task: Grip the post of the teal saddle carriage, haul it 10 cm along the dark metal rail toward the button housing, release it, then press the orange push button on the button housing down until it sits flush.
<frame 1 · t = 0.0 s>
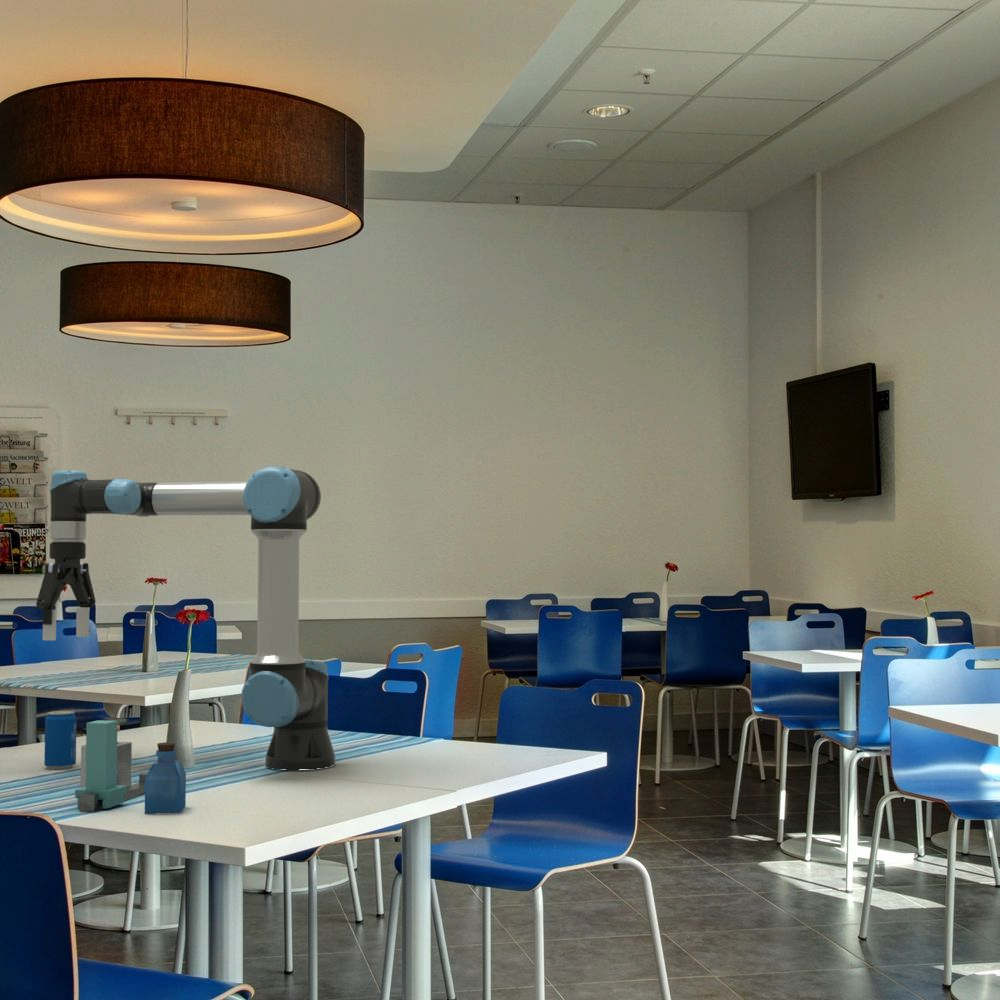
hand: (66, 638, 284), 28 cm above the table, fingers open, 13 cm apart
perfume bottle: (165, 811, 235), on the table
button housing: (106, 790, 256), on the table
carriage: (101, 763, 239), point 8 cm above the table, slide at 0.0 cm
rail: (119, 799, 246), on the table
beverage can: (60, 768, 283), on the table
orange push button: (106, 741, 256), point 10 cm above the table, slide at 0.0 cm
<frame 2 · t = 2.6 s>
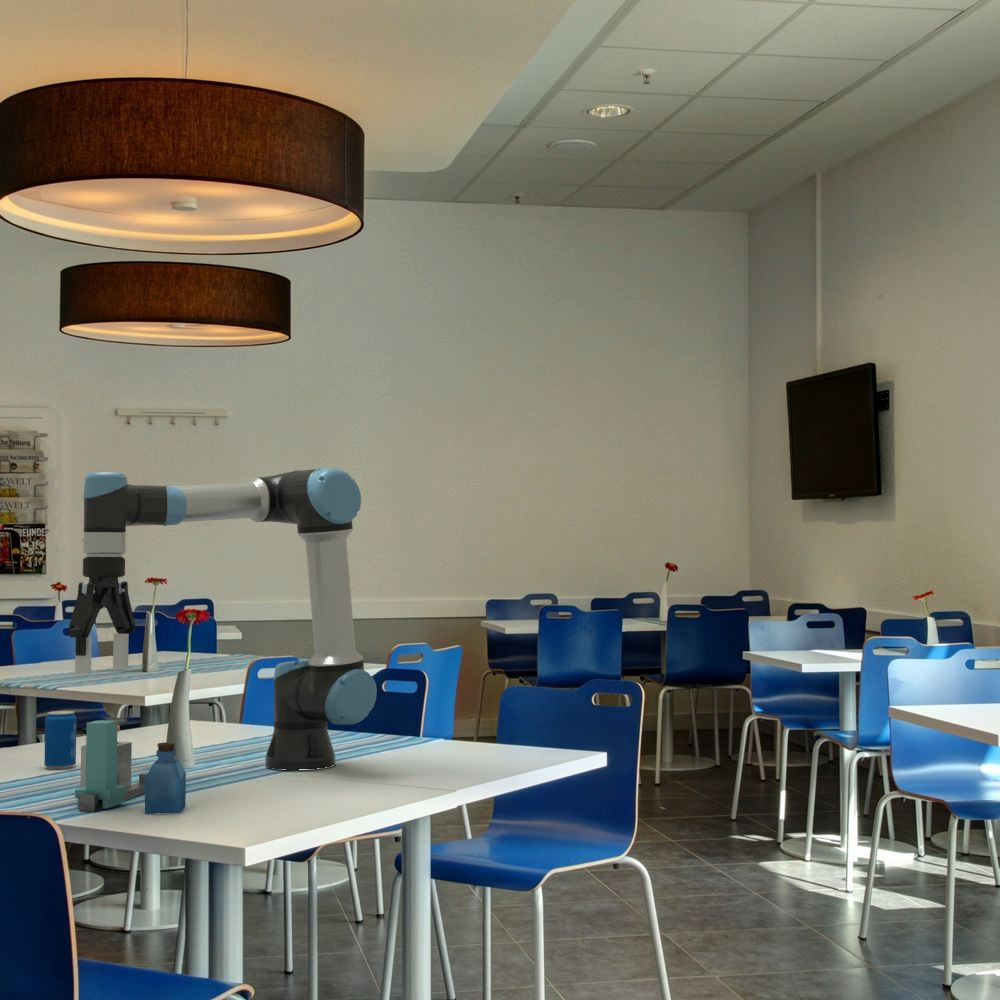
hand: (102, 671, 240), 25 cm above the table, fingers open, 13 cm apart
nothing on the table moved.
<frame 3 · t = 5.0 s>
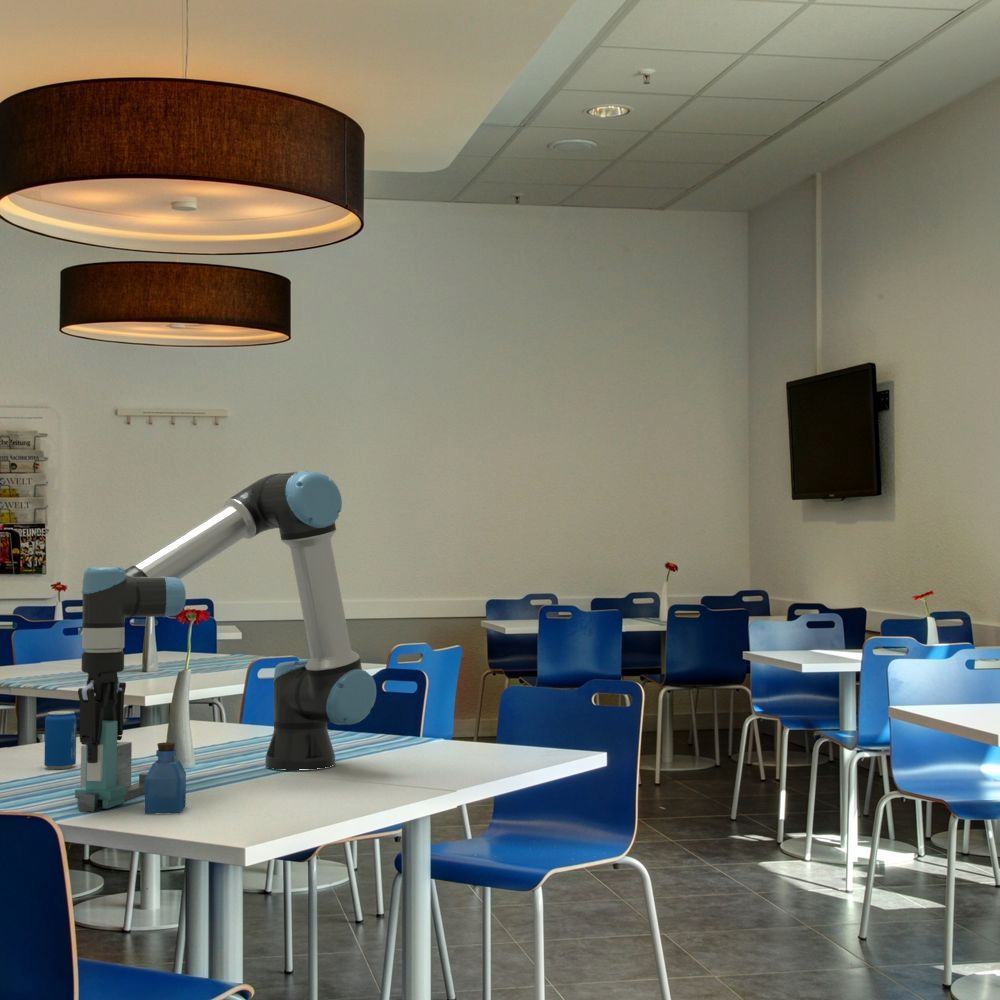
hand: (101, 778, 239), 5 cm above the table, fingers closed on carriage, 4 cm apart
carriage: (101, 763, 239), point 8 cm above the table, slide at 0.0 cm, touching gripper
everything else where it was.
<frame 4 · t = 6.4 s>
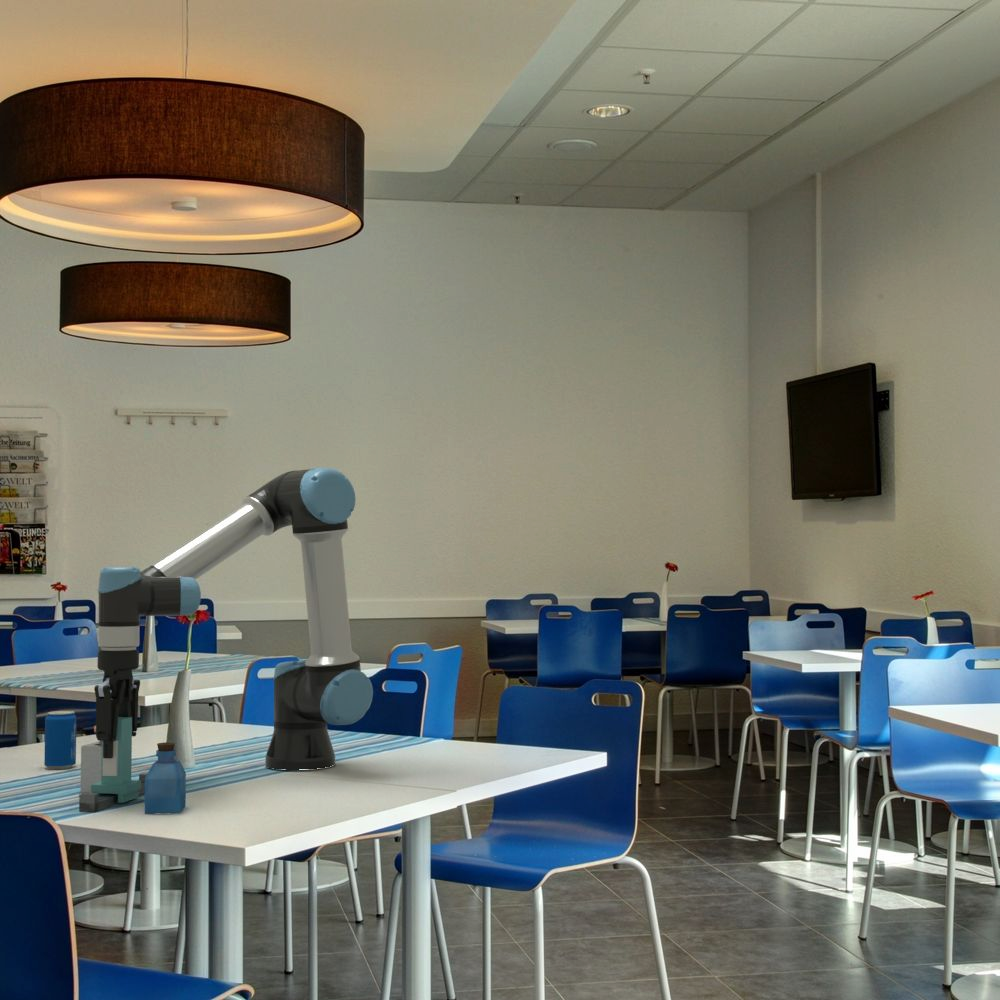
hand: (116, 773, 245), 5 cm above the table, fingers closed on carriage, 4 cm apart
carriage: (116, 758, 245), point 8 cm above the table, slide at 5.6 cm, touching gripper
everything else where it was.
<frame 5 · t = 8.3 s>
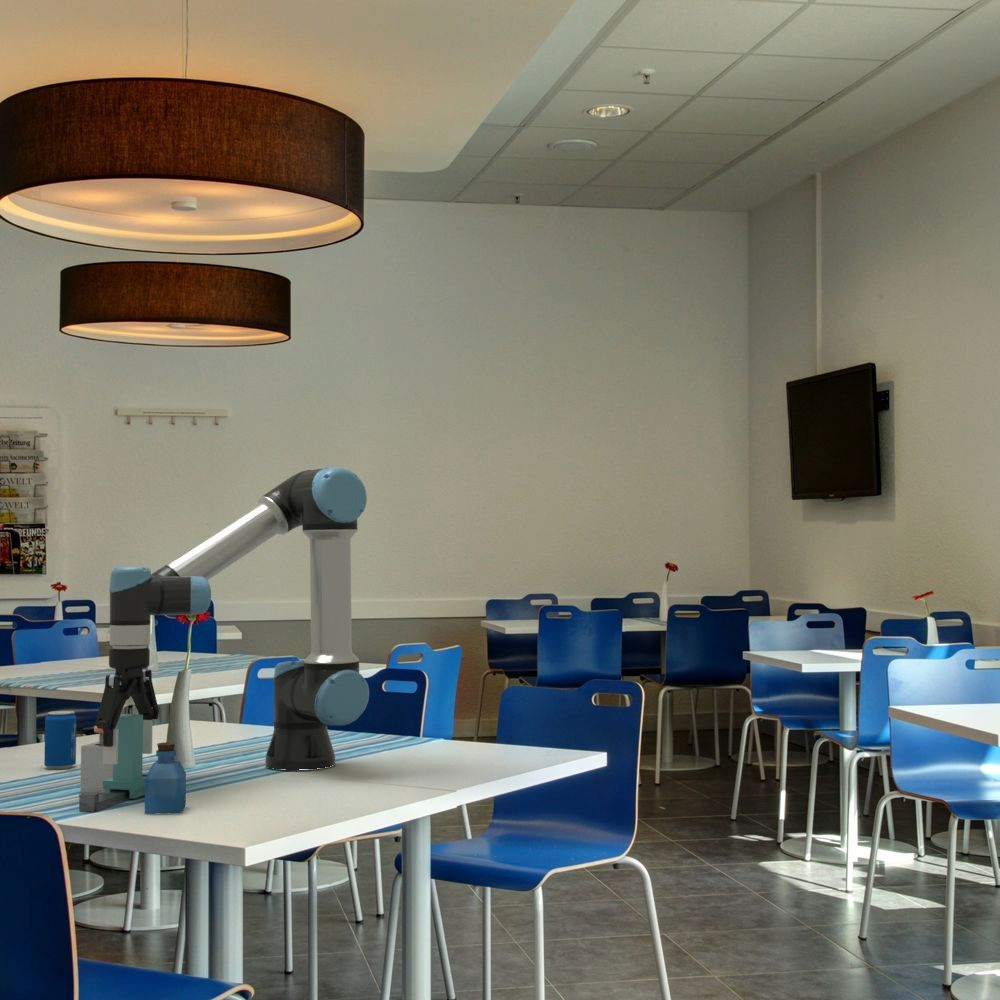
hand: (127, 758, 249), 7 cm above the table, fingers open, 13 cm apart
carriage: (127, 755, 249), point 8 cm above the table, slide at 10.0 cm
everything else where it was.
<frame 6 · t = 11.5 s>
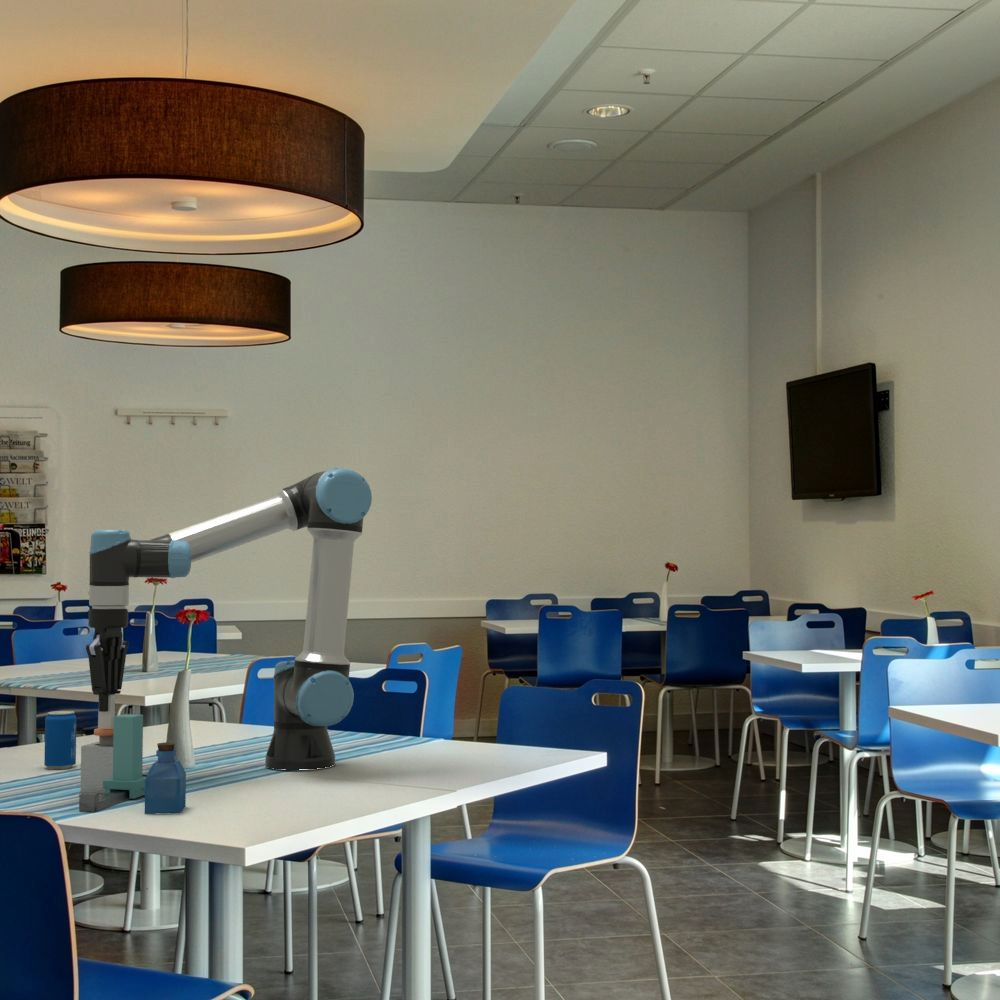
hand: (106, 727, 256), 12 cm above the table, fingers closed
orange push button: (106, 744, 256), point 9 cm above the table, slide at 0.6 cm, touching gripper
everything else where it was.
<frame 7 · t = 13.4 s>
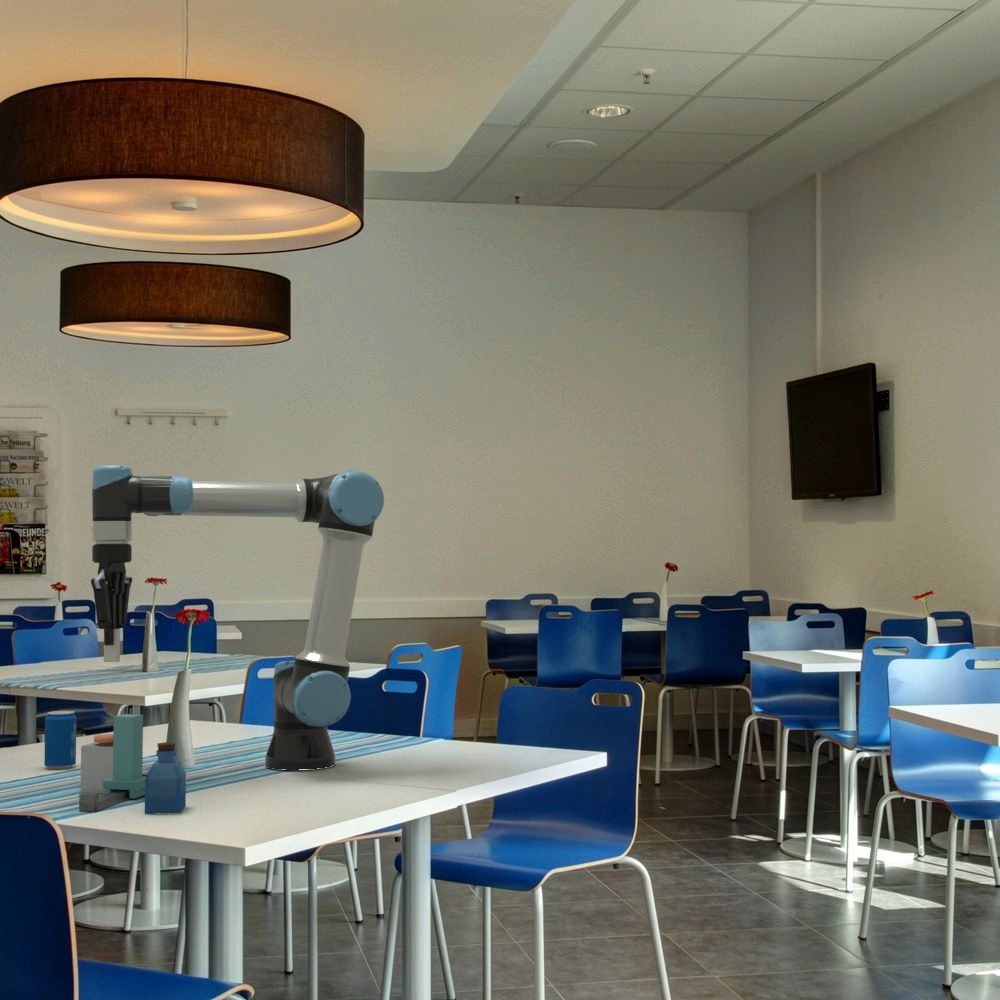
hand: (111, 661, 259), 25 cm above the table, fingers closed
orange push button: (106, 751, 256), point 8 cm above the table, slide at 1.9 cm
everything else where it was.
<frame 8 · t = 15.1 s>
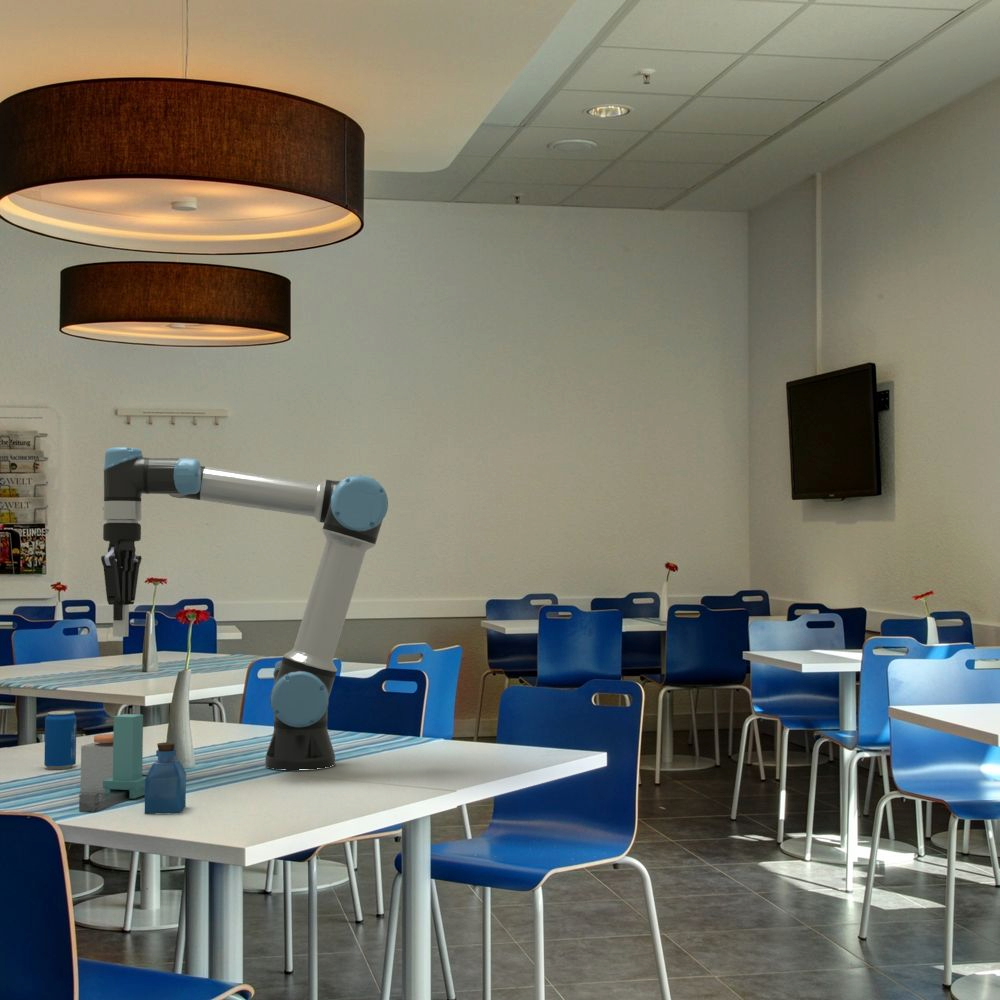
hand: (120, 636, 269), 29 cm above the table, fingers closed
nothing on the table moved.
at the end: carriage slide at 10.0 cm; orange push button slide at 1.9 cm; the gripper is holding nothing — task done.
